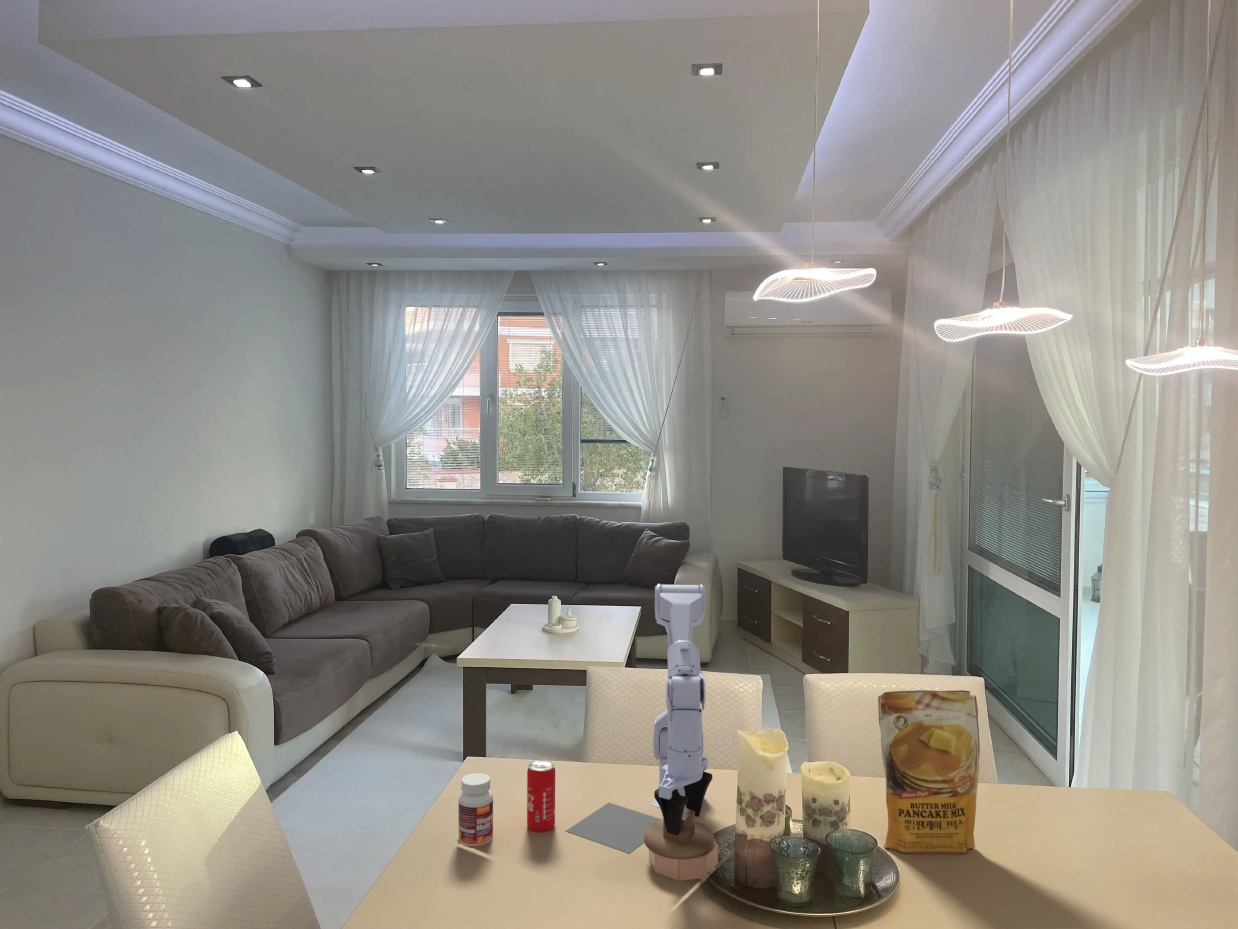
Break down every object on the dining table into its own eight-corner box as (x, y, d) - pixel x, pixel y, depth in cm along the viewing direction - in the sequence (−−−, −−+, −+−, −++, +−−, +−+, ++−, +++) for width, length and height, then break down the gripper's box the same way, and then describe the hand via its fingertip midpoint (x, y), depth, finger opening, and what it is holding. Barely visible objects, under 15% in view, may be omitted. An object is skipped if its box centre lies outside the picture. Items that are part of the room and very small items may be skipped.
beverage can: (550, 837, 151) (550, 772, 150) (523, 834, 152) (523, 770, 151) (558, 823, 156) (558, 761, 155) (531, 820, 157) (532, 758, 156)
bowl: (671, 842, 149) (671, 820, 149) (726, 860, 143) (726, 838, 143) (638, 869, 140) (638, 846, 140) (695, 890, 134) (696, 866, 134)
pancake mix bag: (868, 836, 152) (872, 686, 151) (971, 836, 152) (976, 687, 151) (880, 855, 146) (884, 698, 144) (988, 855, 146) (993, 699, 144)
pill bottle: (481, 851, 145) (481, 788, 145) (451, 844, 148) (451, 782, 147) (499, 836, 151) (499, 775, 150) (470, 829, 153) (470, 769, 153)
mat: (608, 805, 163) (608, 802, 163) (669, 825, 156) (669, 822, 156) (565, 834, 152) (565, 831, 152) (629, 857, 144) (629, 853, 144)
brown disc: (664, 818, 150) (665, 791, 150) (725, 835, 144) (725, 807, 144) (631, 846, 140) (631, 817, 140) (694, 866, 134) (695, 836, 133)
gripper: (683, 728, 149) (682, 801, 149) (643, 755, 136) (642, 835, 137) (718, 736, 145) (717, 811, 146) (681, 764, 133) (679, 847, 133)
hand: (683, 824), depth 141 cm, fingers open, 7 cm apart
